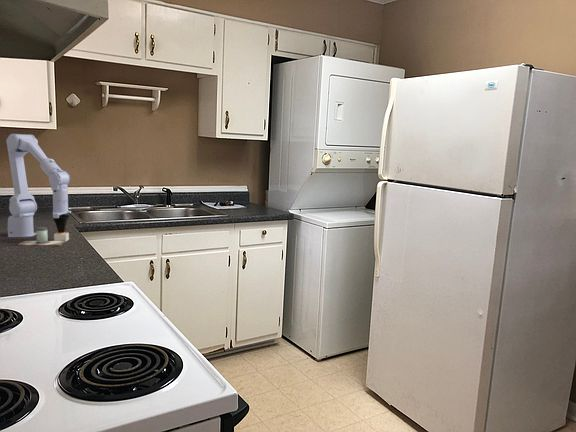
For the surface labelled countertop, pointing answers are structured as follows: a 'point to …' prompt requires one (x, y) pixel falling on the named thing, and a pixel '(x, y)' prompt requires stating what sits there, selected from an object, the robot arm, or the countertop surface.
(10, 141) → the robot arm
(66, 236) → the button box
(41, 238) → the ink stamp
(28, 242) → the sketch pad
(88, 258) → the countertop surface
